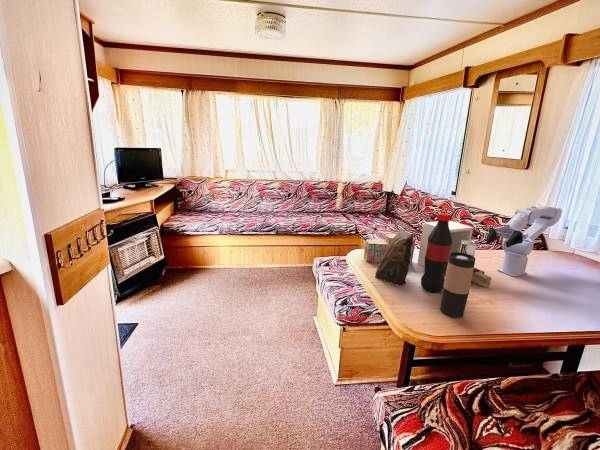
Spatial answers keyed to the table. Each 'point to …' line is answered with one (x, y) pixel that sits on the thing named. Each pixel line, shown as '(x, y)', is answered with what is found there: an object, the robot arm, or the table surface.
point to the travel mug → (457, 284)
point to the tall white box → (457, 234)
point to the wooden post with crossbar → (480, 278)
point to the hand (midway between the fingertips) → (496, 243)
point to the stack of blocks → (380, 248)
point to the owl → (396, 259)
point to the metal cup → (466, 247)
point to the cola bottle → (437, 255)
